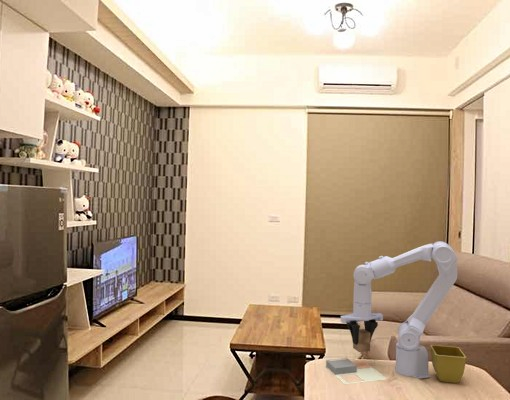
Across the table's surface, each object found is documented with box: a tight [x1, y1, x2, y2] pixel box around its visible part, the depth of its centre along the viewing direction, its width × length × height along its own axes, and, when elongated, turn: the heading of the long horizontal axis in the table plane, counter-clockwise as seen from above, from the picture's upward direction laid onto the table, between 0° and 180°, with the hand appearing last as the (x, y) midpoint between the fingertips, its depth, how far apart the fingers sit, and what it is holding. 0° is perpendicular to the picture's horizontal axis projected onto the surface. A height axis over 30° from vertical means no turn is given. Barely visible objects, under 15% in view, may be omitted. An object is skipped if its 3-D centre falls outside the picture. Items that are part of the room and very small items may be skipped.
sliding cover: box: [325, 357, 357, 376], centre depth 136 cm, size 8×6×2 cm
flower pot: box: [429, 344, 467, 384], centre depth 133 cm, size 9×9×9 cm
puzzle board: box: [325, 360, 388, 385], centre depth 135 cm, size 14×14×1 cm
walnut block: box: [352, 328, 371, 353], centre depth 140 cm, size 4×4×6 cm
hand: (361, 343), depth 140 cm, fingers closed on walnut block, 4 cm apart
